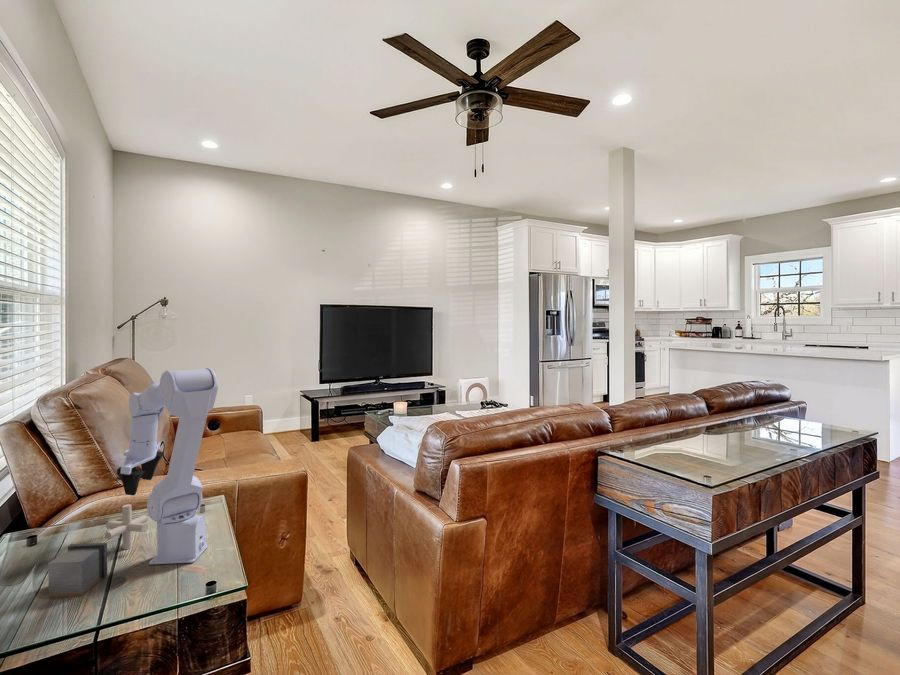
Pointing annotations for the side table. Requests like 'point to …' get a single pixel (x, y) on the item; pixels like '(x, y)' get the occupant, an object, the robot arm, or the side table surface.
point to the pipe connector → (126, 526)
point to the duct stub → (77, 569)
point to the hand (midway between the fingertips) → (139, 486)
